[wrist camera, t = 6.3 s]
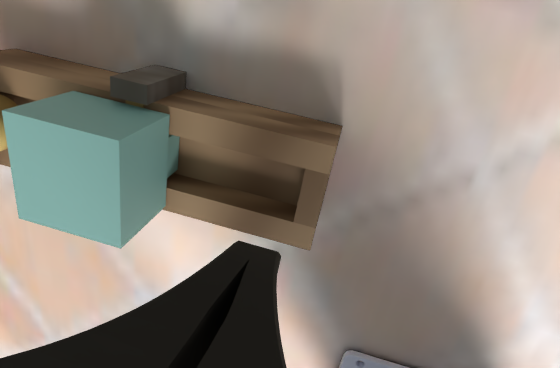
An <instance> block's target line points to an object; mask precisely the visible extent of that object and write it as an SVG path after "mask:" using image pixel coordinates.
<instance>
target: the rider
mask: <svg viewBox="0 0 560 368" xmlns="http://www.w3.org/2000/svg"><path fill="white" fill-rule="evenodd" d="M2 116H3V122H4V128H5V134H6V141H7V147H8V153H9V159H10V165H11V172H12V178H13V184H14V190H15V197H16V203H17V209H18V215H19V218H20V219H23V220H26V221H30V222H33V223H37V224H40V225H43V226H47V227H50V228H53V229H57V230H60V231H64V232H67V233H70V234H74V235H77V236H80V237H84V238H87V239H91V240H94V241H97V242H101V243H104V244H107V245H111V246H114V247H118V248H122V247H123V246H124V245H125V244H126V243H127V242H128V241H129V240H130V239H131V238H133V237H134V236H135V235H136V234H137V233H138V232H139V231H140V230H141V229H142V228H143V227H144V226H145V225H146V224H147V223H148V222H149V221H150V220H151V219H152V218H154V217H155V216H156V215H157V214H158V213H159V212H160V211H161V210H162V209H163V208H164V207H165V206H166V185H167V178H168V177H169V176H170V175H172V174H173V173H174V172H175V171H176V170H178V156H179V139H180V137H178V136H174V135H170V134H169V118H170V114H166V113H162V112H158V111H153V110H149V109H145V108H141V107H137V106H133V105H129V104H125V103H121V102H117V101H113V100H109V99H105V98H101V97H97V96H93V95H89V94H85V93H80V92H76V91H71V92H67V93H63V94H60V95H56V96H52V97H49V98H45V99H41V100H38V101H34V102H30V103H27V104H23V105H19V106H16V107H12V108H8V109H5V110H2Z"/></svg>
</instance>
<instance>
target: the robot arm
mask: <svg viewBox="0 0 560 368" xmlns="http://www.w3.org/2000/svg"><path fill="white" fill-rule="evenodd" d="M280 259H281V255H280V254H279V252H277V251H273V250H270V249H266V248H262V247H259V246H255V245H252V244H248V243H245V242H241V241H237V242H235V243H234V244H233V245H231V246H230V247H229V248H228V249H227V250H225V251H224V252H223V253H222V254H220V255H219V256H218V257H216V258H215V259H214V260H213V261H211V262H210V263H209V264H207V265H206V266H204V267H203V268H202V269H200V270H199V271H197V272H196V273H195V274H193V275H192V276H190V277H189V278H187V279H186V280H184V281H183V282H181V283H179V284H178V285H176V286H175V287H173V288H172V289H170V290H168V291H167V292H165V293H163V294H162V295H160V296H158V297H157V298H155V299H153V300H151V301H149V302H148V303H146V304H144V305H142V306H140V307H138V308H136V309H134V310H132V311H130V312H128V313H126V314H124V315H122V316H119V317H117V318H115V319H113V320H111V321H108V322H106V323H104V324H101V325H99V326H97V327H94V328H92V329H90V330H87V331H84V332H82V333H79V334H76V335H74V336H71V337H68V338H65V339H62V340H59V341H57V342H54V343H51V344H48V345H45V346H42V347H38V348H35V349H32V350H29V351H25V352H21V353H18V354H14V355H11V356H7V357H4V358H0V368H286V364H285V359H284V354H283V349H282V343H281V337H280V330H279V322H278V312H277V293H276V283H277V273H278V268H279V264H280ZM360 361H362V362H360ZM339 368H409V367H405V366H402V365H399V364H396V363H392V362H389V361H386V360H382V359H379V358H376V357H373V356H369V355H366V354H363V353H360V352H356V351H352V350H349V351H346V352H345V353H344V355H343V357H342V360H341V363H340V366H339Z"/></svg>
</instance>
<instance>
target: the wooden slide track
mask: <svg viewBox="0 0 560 368" xmlns="http://www.w3.org/2000/svg"><path fill="white" fill-rule="evenodd" d="M185 85H186V72H184V71H180V70H175V69H171V68H167V67H162V66H158V65H152V66H149V67H145V68H141V69H137V70H133V71H129V72H125V73H121V74H120V73H116V72H112V71H108V70H103V69H99V68H95V67H91V66H86V65H82V64H78V63H74V62H70V61H65V60H61V59H57V58H53V57H48V56H44V55H40V54H36V53H32V52H27V51H23V50H19V49H8V50H0V164H1V165H5V166H9V167H11V165H10V159H9V153H8V147H7V141H6V134H5V128H4V122H3V116H2V110H5V109H8V108H12V107H16V106H19V105H23V104H27V103H30V102H34V101H38V100H41V99H45V98H49V97H52V96H56V95H60V94H63V93H67V92H71V91H76V92H80V93H85V94H89V95H93V96H97V97H101V98H105V99H109V100H113V101H117V102H121V103H125V104H129V105H133V106H137V107H141V108H145V109H149V110H153V111H158V112H162V113H166V114H170V118H169V134H170V135H174V136H178V137H180V139H179V156H178V170H176V171H175V172H174V173H173V174H172V175H170V176H169V177H168V178H167V185H166V206H165V207H164V208H163V210H166V211H170V212H173V213H177V214H181V215H184V216H188V217H191V218H195V219H198V220H202V221H206V222H209V223H213V224H216V225H220V226H224V227H227V228H231V229H234V230H238V231H241V232H245V233H249V234H252V235H256V236H259V237H263V238H267V239H270V240H274V241H277V242H281V243H284V244H288V245H292V246H295V247H299V248H302V249H306V250H309V251H310V248H311V245H312V241H313V237H314V233H315V229H316V225H317V222H318V218H319V214H320V210H321V206H322V202H323V199H324V195H325V191H326V187H327V183H328V179H329V175H330V172H331V168H332V164H333V160H334V156H335V152H336V149H337V145H338V141H339V137H340V133H341V129H342V126H340V125H336V124H332V123H328V122H323V121H319V120H315V119H311V118H306V117H302V116H298V115H294V114H289V113H285V112H281V111H277V110H273V109H268V108H264V107H260V106H256V105H251V104H247V103H243V102H239V101H234V100H230V99H226V98H222V97H218V96H213V95H209V94H205V93H201V92H196V91H192V90H188V89H185Z"/></svg>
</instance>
